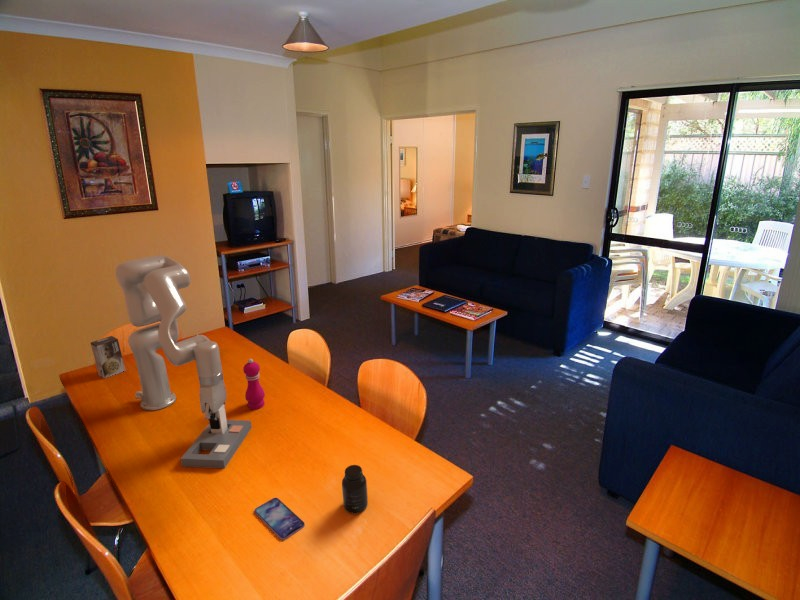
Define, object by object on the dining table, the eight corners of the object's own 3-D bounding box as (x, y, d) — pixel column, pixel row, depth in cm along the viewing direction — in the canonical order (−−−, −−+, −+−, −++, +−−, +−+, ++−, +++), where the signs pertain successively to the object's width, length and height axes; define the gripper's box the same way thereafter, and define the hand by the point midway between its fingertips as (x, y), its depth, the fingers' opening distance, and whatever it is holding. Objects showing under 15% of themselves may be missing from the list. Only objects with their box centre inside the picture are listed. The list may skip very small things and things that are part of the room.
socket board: (182, 466, 147) (180, 457, 145) (214, 426, 167) (212, 418, 166) (224, 468, 145) (223, 459, 144) (251, 427, 166) (250, 419, 165)
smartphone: (276, 496, 133) (306, 524, 123) (276, 499, 133) (306, 526, 123) (252, 509, 128) (282, 539, 118) (253, 512, 128) (282, 542, 118)
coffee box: (119, 367, 214) (111, 335, 209) (126, 371, 210) (118, 338, 205) (98, 375, 207) (89, 342, 202) (104, 379, 203) (96, 345, 198)
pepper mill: (268, 400, 184) (263, 355, 177) (261, 410, 177) (255, 363, 171) (251, 400, 184) (245, 354, 178) (243, 409, 178) (237, 363, 171)
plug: (211, 435, 159) (206, 405, 156) (216, 428, 163) (212, 398, 159) (222, 435, 159) (218, 405, 155) (227, 429, 163) (223, 399, 159)
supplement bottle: (343, 497, 133) (341, 462, 129) (367, 495, 133) (365, 461, 129) (343, 515, 126) (340, 479, 122) (368, 513, 127) (366, 477, 123)
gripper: (211, 366, 163) (219, 411, 168) (187, 389, 147) (196, 438, 153) (232, 366, 162) (239, 411, 168) (210, 390, 146) (218, 439, 152)
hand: (218, 424), depth 160 cm, fingers closed on plug, 4 cm apart
